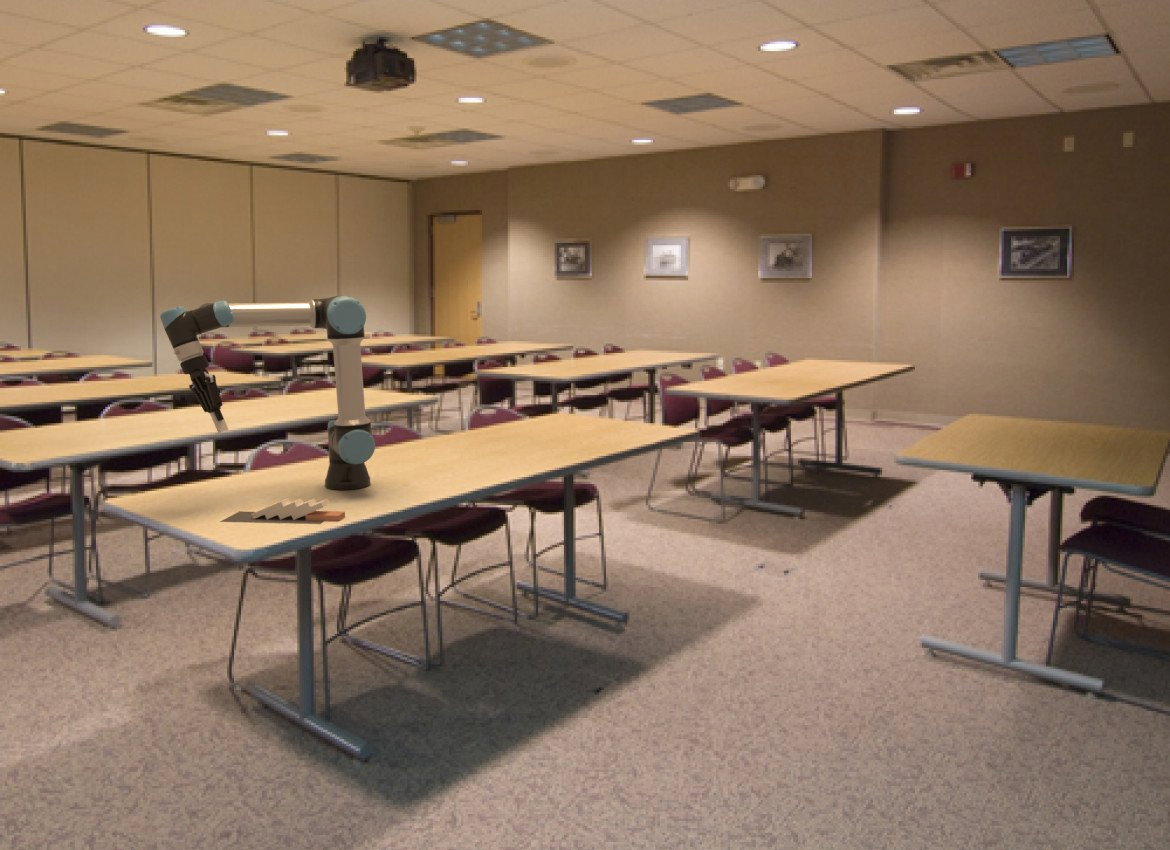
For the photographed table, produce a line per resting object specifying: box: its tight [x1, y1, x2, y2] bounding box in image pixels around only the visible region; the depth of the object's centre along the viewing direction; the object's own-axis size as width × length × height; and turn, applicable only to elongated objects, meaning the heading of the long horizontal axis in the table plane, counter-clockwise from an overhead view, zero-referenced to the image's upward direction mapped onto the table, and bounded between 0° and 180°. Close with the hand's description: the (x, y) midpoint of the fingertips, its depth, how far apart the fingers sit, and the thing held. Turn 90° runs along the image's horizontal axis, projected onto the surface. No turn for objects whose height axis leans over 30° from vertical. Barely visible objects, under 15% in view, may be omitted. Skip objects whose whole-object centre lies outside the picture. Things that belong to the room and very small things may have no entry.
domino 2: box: [265, 497, 304, 519], centre depth 265 cm, size 2×5×10 cm
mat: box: [219, 510, 325, 525], centre depth 266 cm, size 30×12×1 cm, turn 85°
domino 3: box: [278, 497, 317, 520], centre depth 265 cm, size 2×5×10 cm
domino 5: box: [306, 510, 346, 522], centre depth 265 cm, size 2×5×10 cm
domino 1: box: [252, 497, 291, 519], centre depth 266 cm, size 2×5×10 cm
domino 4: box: [291, 498, 331, 520], centre depth 265 cm, size 2×5×10 cm
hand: (223, 431), depth 274 cm, fingers closed
